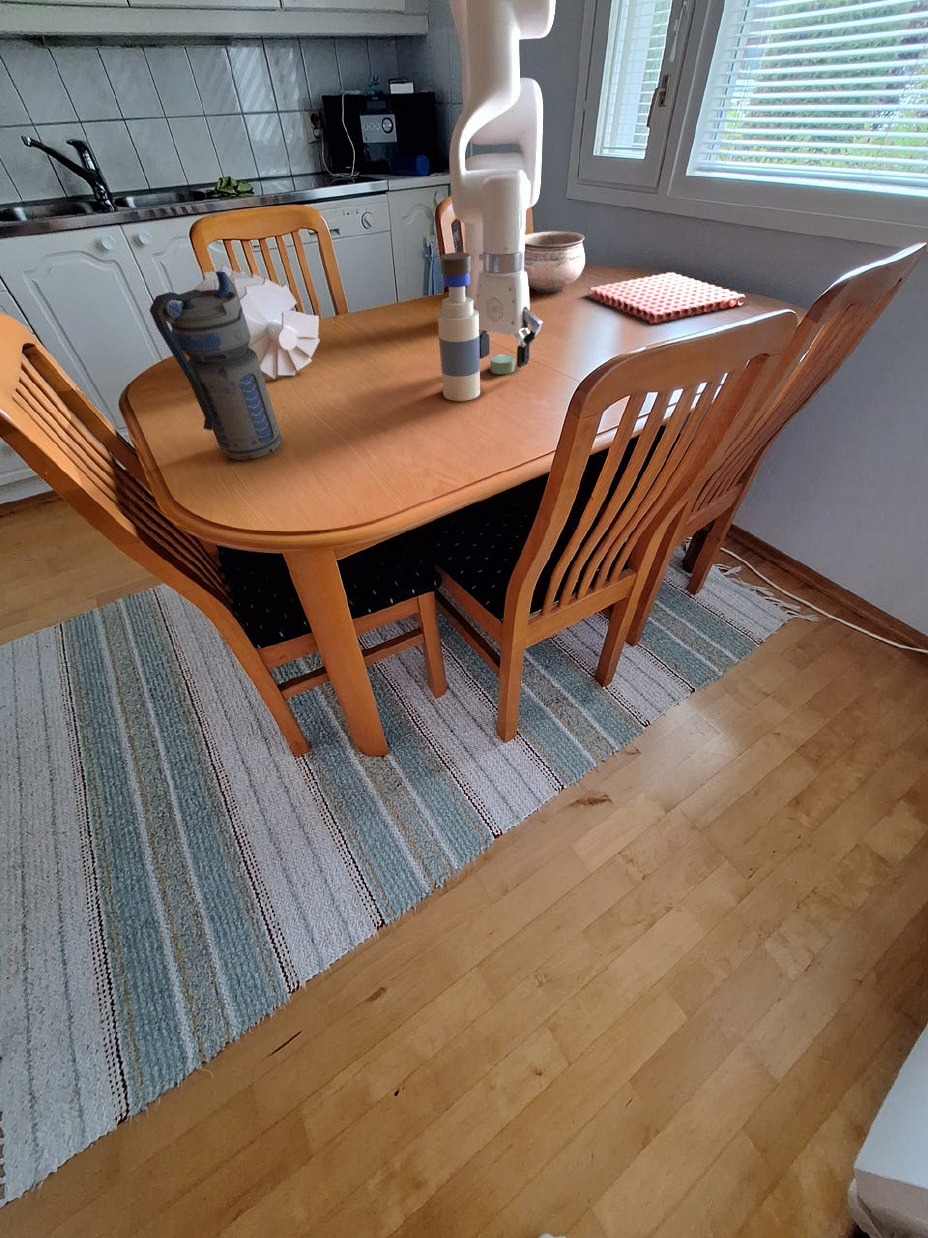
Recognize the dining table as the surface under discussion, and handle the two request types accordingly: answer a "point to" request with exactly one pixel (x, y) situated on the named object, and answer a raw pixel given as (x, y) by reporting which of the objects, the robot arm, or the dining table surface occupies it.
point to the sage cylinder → (502, 364)
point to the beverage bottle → (220, 366)
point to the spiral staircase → (271, 322)
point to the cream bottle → (459, 341)
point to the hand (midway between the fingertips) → (502, 360)
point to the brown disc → (455, 263)
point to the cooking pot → (553, 260)
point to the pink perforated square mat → (665, 297)
